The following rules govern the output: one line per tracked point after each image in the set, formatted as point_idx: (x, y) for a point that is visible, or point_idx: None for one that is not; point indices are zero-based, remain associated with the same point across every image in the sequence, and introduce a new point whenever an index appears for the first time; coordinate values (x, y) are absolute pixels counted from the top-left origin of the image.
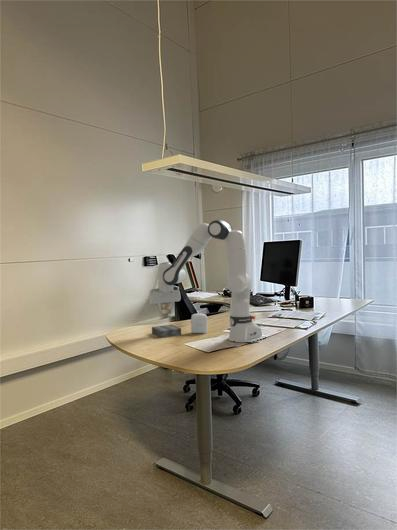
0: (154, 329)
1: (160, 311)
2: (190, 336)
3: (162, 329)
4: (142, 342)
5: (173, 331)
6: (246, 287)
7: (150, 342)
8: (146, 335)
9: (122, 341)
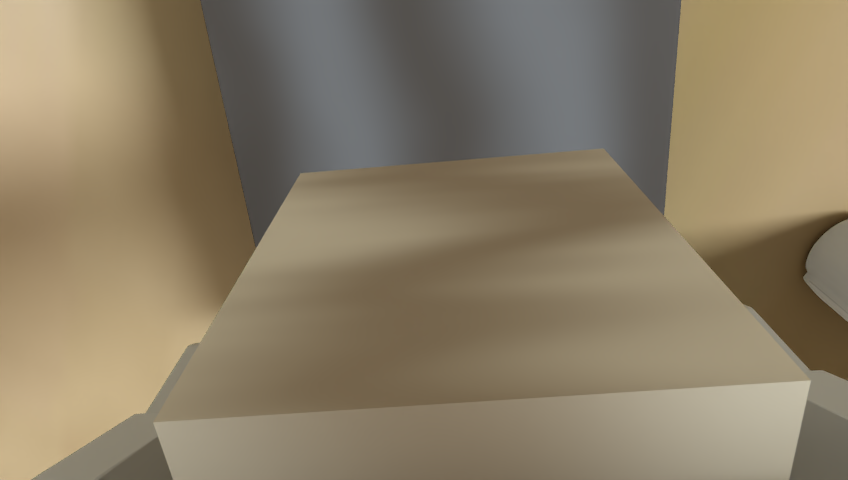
0: (226, 86)
1: (291, 201)
2: None
3: None
4: (43, 373)
5: None
6: None
7: (141, 413)
8: (115, 39)
9: None
